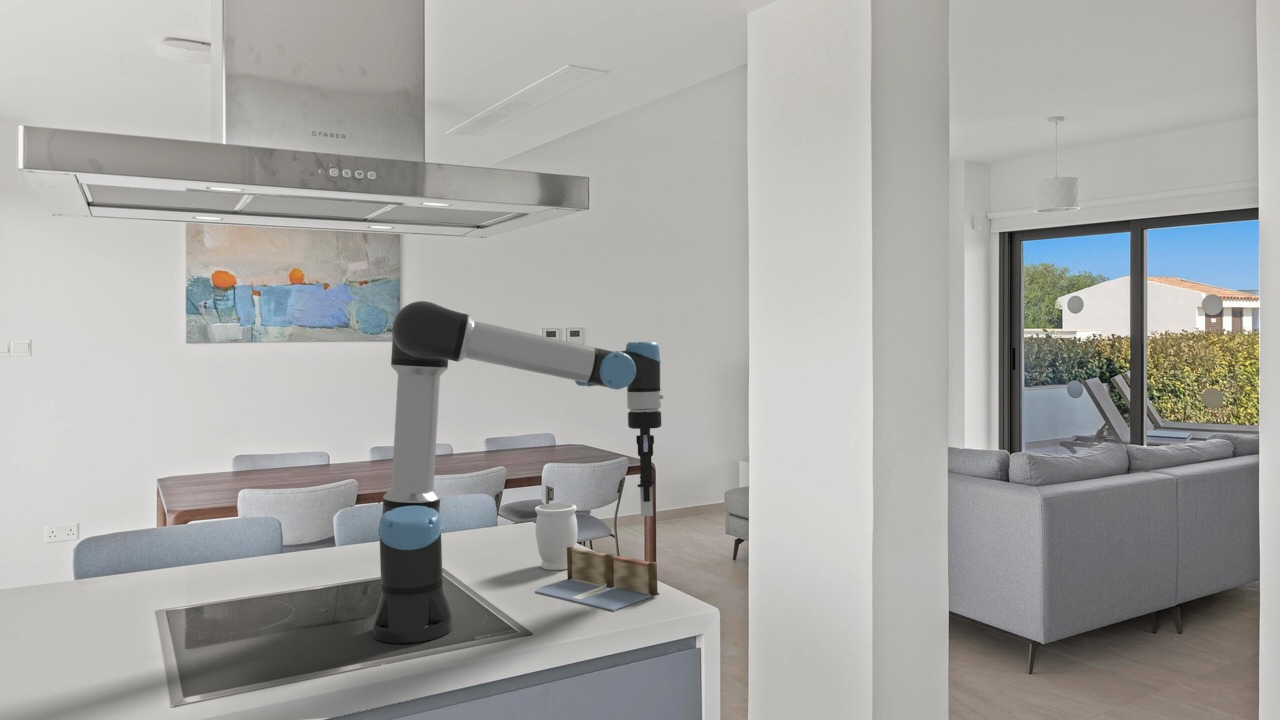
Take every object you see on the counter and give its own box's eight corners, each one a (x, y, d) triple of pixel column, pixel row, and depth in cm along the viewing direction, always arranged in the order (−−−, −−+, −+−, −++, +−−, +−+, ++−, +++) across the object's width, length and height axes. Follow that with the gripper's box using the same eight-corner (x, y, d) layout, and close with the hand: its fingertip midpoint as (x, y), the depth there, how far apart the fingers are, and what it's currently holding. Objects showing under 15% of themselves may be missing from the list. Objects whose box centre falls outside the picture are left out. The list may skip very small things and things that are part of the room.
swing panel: (613, 587, 195) (612, 556, 195) (618, 585, 197) (617, 554, 196) (654, 595, 188) (653, 564, 188) (659, 594, 189) (658, 562, 189)
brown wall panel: (565, 579, 205) (564, 547, 204) (571, 577, 206) (570, 546, 206) (611, 589, 196) (610, 556, 195) (617, 587, 197) (616, 554, 197)
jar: (572, 572, 211) (571, 510, 210) (531, 571, 212) (529, 510, 212) (582, 561, 221) (581, 502, 221) (543, 560, 223) (541, 502, 222)
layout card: (535, 592, 195) (535, 590, 195) (581, 577, 206) (581, 575, 206) (614, 611, 180) (614, 609, 180) (659, 594, 191) (659, 592, 191)
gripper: (662, 412, 189) (664, 520, 189) (660, 407, 204) (662, 507, 204) (627, 413, 189) (630, 521, 189) (628, 408, 204) (630, 508, 204)
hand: (646, 514), depth 197 cm, fingers open, 2 cm apart
